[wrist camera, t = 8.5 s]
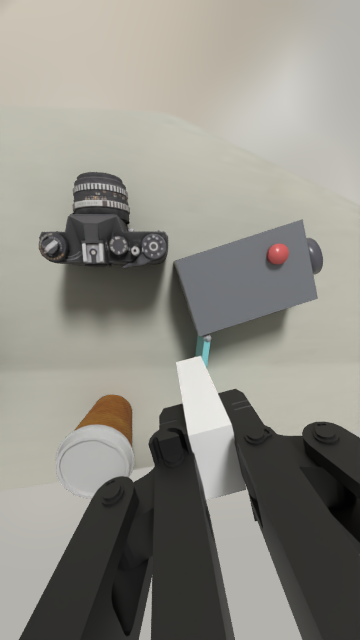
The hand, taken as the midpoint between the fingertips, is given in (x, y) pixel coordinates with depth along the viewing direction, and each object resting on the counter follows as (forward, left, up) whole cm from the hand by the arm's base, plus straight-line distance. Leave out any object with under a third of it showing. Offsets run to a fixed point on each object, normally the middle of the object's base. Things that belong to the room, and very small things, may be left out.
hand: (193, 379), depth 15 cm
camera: (-5, +14, -25) cm, 29 cm away
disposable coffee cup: (-15, -13, -25) cm, 32 cm away
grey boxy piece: (+11, +2, -24) cm, 27 cm away
